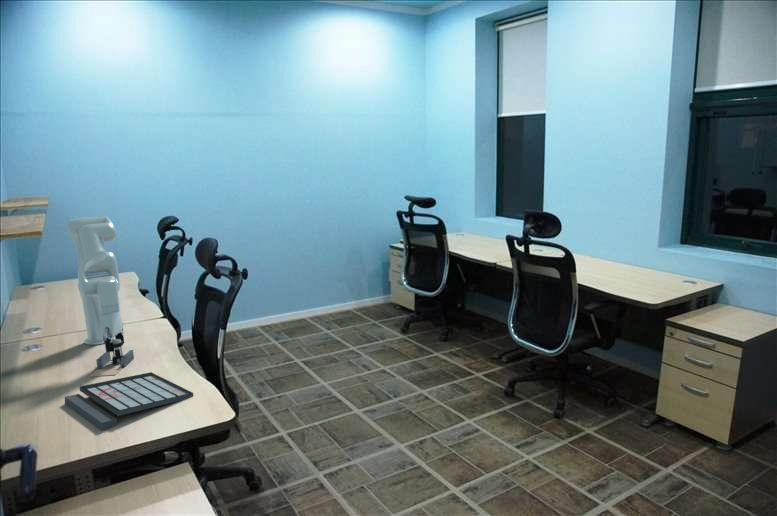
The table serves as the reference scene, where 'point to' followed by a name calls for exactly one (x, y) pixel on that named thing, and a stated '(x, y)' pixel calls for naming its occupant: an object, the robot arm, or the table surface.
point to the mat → (105, 372)
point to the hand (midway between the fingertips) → (115, 347)
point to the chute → (106, 358)
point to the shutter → (124, 397)
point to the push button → (117, 351)
